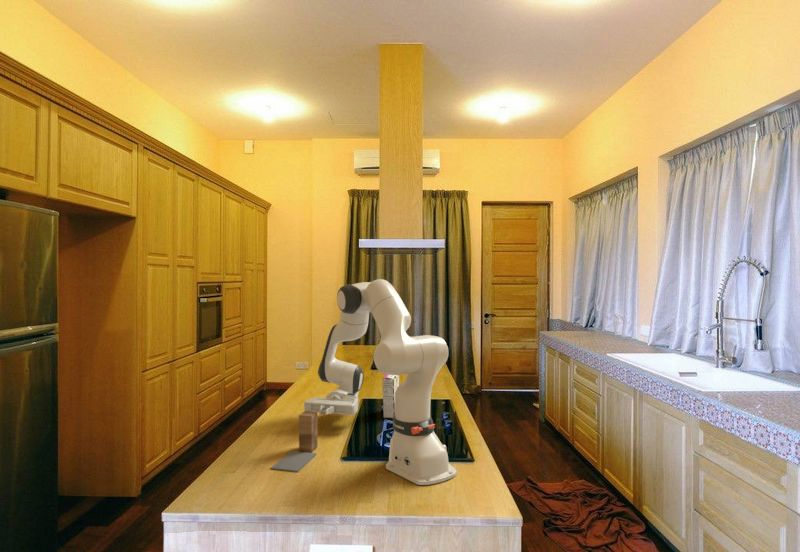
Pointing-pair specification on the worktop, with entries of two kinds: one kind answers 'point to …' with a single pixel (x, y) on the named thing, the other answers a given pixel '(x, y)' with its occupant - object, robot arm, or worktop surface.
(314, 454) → the mat
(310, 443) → the block
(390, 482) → the worktop surface
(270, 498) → the worktop surface
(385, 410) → the candy bar box
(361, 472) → the worktop surface
